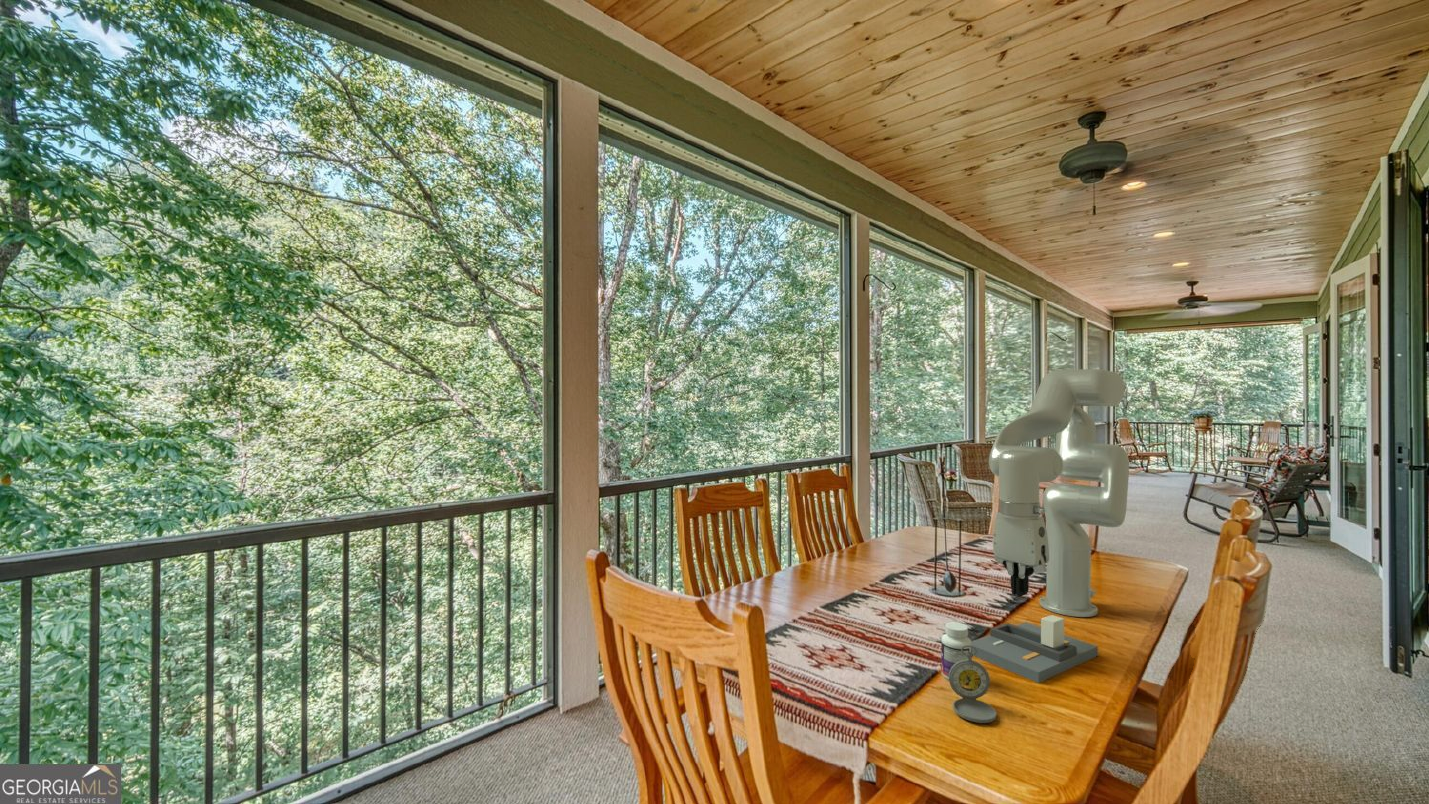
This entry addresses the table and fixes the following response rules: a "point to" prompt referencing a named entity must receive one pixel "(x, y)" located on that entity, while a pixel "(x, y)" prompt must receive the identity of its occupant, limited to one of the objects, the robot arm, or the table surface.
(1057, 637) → the fader
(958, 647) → the pill bottle
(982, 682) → the pocket watch
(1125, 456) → the robot arm
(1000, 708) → the table surface
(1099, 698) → the table surface
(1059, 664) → the console
